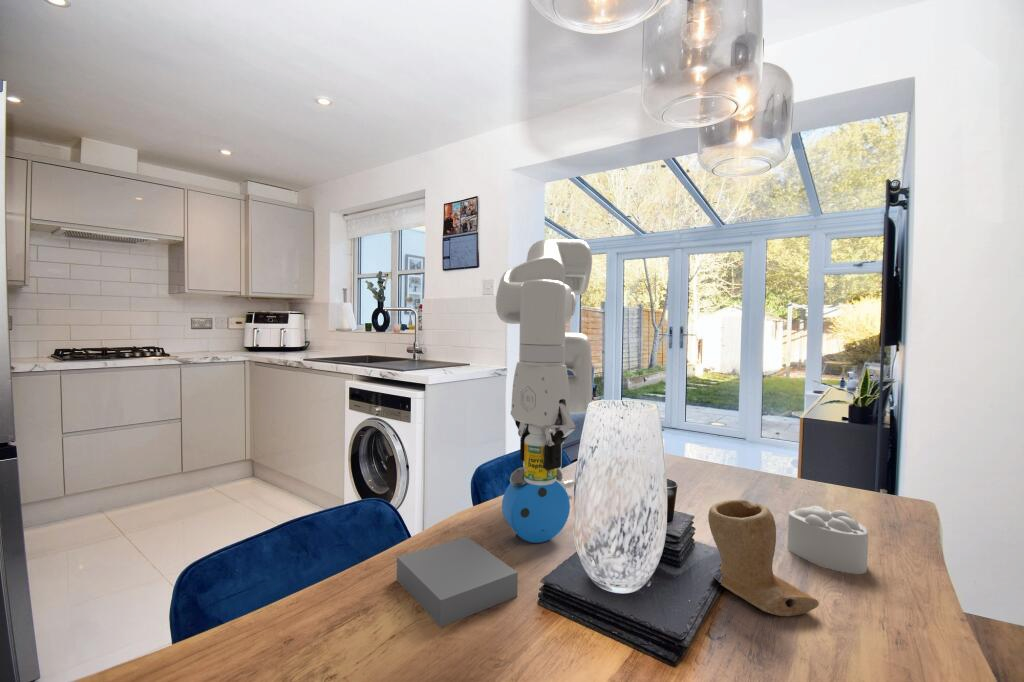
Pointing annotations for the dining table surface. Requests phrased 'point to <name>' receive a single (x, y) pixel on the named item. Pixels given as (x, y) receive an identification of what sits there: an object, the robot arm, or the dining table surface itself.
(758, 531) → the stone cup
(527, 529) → the alarm clock
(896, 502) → the dining table surface
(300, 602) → the dining table surface
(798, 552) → the lumpy-topped squat cylinder
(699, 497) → the dining table surface
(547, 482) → the supplement bottle
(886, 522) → the dining table surface
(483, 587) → the riser block
